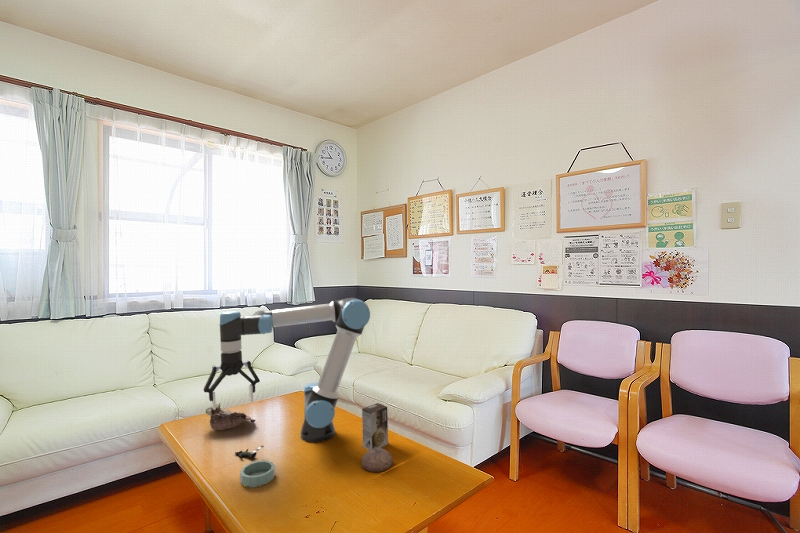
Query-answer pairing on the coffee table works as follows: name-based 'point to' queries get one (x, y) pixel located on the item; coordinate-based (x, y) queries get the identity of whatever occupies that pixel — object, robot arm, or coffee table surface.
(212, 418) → the rock
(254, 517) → the coffee table surface
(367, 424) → the coffee box
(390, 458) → the decorative stone
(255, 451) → the figurine
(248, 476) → the bowl
